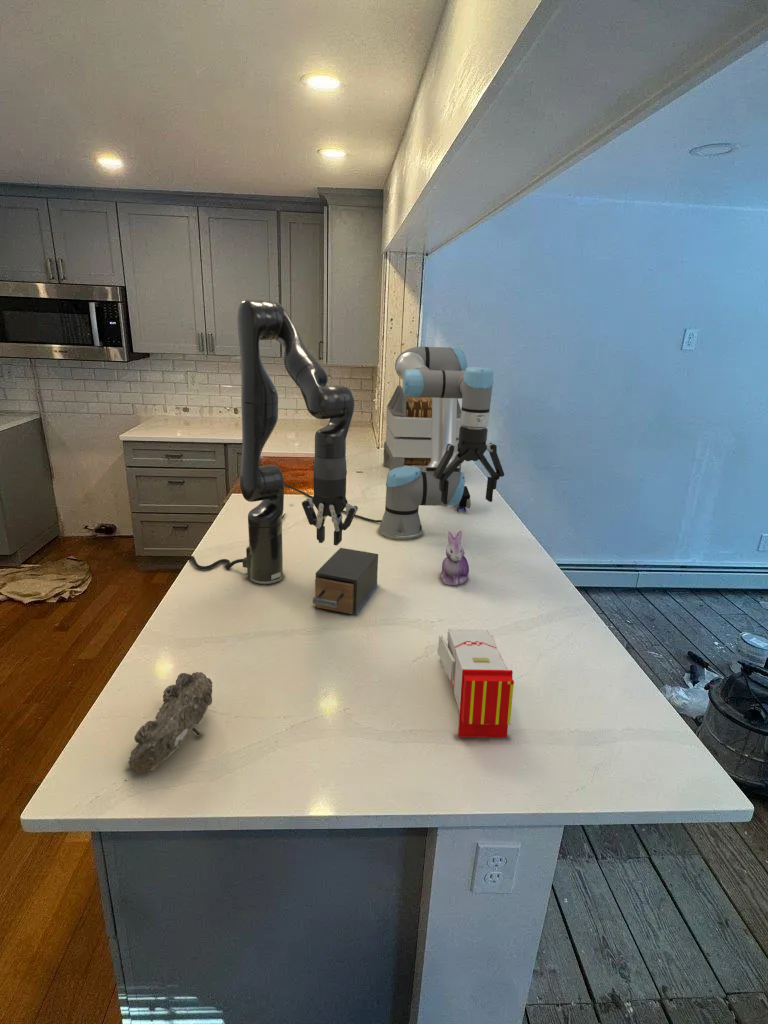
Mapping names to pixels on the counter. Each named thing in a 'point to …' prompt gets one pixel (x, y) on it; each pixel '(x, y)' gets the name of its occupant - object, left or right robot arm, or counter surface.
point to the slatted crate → (410, 430)
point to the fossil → (172, 721)
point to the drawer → (334, 595)
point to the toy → (478, 682)
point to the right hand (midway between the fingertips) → (466, 501)
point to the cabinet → (353, 572)
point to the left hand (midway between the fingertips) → (329, 542)
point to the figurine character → (464, 500)
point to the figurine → (454, 561)
